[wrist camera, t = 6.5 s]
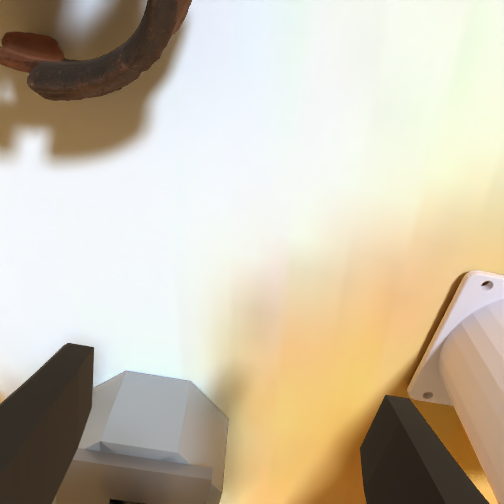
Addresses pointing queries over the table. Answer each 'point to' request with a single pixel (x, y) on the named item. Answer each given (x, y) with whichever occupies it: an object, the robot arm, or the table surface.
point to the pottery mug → (96, 70)
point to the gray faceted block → (148, 445)
